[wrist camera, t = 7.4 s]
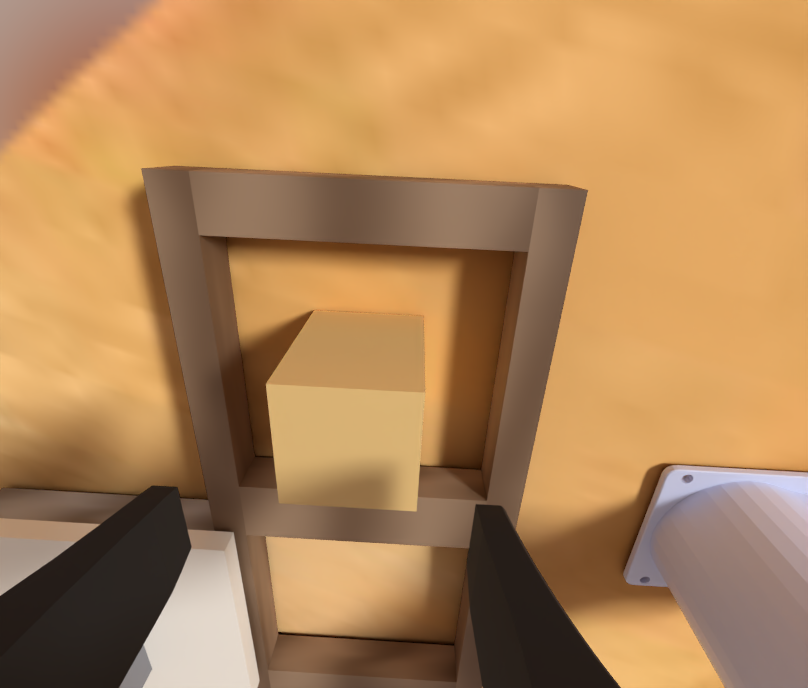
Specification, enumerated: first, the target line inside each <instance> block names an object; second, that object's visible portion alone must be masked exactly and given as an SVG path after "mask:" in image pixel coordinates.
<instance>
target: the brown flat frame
mask: <svg viewBox="0 0 808 688" xmlns="http://www.w3.org/2000/svg"><path fill="white" fill-rule="evenodd" d="M141 169H142V174H143V179H144V184H145V189H146V194H147V199H148V204H149V209H150V214H151V219H152V224H153V229H154V234H155V239H156V244H157V249H158V254H159V259H160V263H161V268H162V273H163V278H164V283H165V288H166V293H167V298H168V303H169V308H170V313H171V318H172V323H173V328H174V333H175V338H176V343H177V348H178V353H179V358H180V363H181V367H182V372H183V377H184V382H185V387H186V392H187V397H188V402H189V407H190V412H191V417H192V422H193V427H194V432H195V437H196V442H197V447H198V452H199V457H200V462H201V466H202V471H203V476H204V481H205V486H206V491H207V496H208V500H202V499H185V498H180V500H181V504H182V509H183V513H184V517H185V521H186V525H187V529H189V530H206V531H222V532H234V538H235V543H236V549H237V555H238V560H239V566H240V572H241V578H242V583H243V589H244V595H245V600H246V606H247V612H248V617H249V623H250V629H251V634H252V640H253V646H254V651H255V657H256V663H257V668H258V674H259V680H260V681H259V684H258V688H482V681H481V675H480V669H479V663H478V657H477V651H476V645H475V638H474V632H473V626H472V620H471V614H470V605H469V592H468V576H467V565H466V572H465V578H464V585H463V591H462V598H461V604H460V611H459V617H458V624H457V630H456V637H455V644H454V646H453V645H437V644H421V643H405V642H389V641H374V640H358V639H342V638H326V637H310V636H294V635H278V629H277V621H276V614H275V606H274V598H273V591H272V583H271V576H270V568H269V561H268V553H267V546H266V538H265V536H270V537H287V538H303V539H320V540H337V541H353V542H370V543H387V544H403V545H420V546H437V547H453V548H469V545H470V538H471V531H472V525H473V518H474V512H475V505H476V504H484V505H501V506H502V507H503V508H504V509H505V510H506V512H507V515H508V517H509V518H510V520H511V522H512V524H513V526H514V528H515V530H516V525H517V520H518V516H519V511H520V506H521V502H522V497H523V492H524V487H525V483H526V478H527V473H528V469H529V464H530V459H531V455H532V450H533V445H534V441H535V436H536V431H537V426H538V422H539V417H540V412H541V408H542V403H543V398H544V394H545V389H546V384H547V380H548V375H549V370H550V365H551V361H552V356H553V351H554V347H555V342H556V337H557V333H558V328H559V323H560V319H561V314H562V309H563V304H564V300H565V295H566V290H567V286H568V281H569V276H570V272H571V267H572V262H573V257H574V253H575V248H576V243H577V239H578V234H579V229H580V225H581V220H582V215H583V211H584V206H585V201H586V196H587V192H588V190H585V189H581V188H578V187H574V186H570V185H558V184H538V183H517V182H496V181H476V180H455V179H434V178H413V177H393V176H372V175H351V174H331V173H310V172H289V171H269V170H248V169H227V168H207V167H186V166H168V167H155V168H141ZM226 237H243V238H262V239H282V240H302V241H322V242H342V243H361V244H381V245H401V246H421V247H441V248H460V249H480V250H500V251H515V252H514V258H513V265H512V271H511V278H510V284H509V291H508V297H507V304H506V310H505V317H504V323H503V330H502V336H501V343H500V350H499V356H498V363H497V369H496V376H495V382H494V389H493V395H492V402H491V408H490V415H489V421H488V428H487V434H486V441H485V448H484V454H483V461H482V467H481V470H475V469H458V468H440V467H423V466H420V471H419V485H418V498H417V512H416V511H399V510H382V509H365V508H348V507H331V506H314V505H297V504H280V503H279V500H278V491H277V482H276V473H275V464H274V458H266V457H255V456H254V448H253V440H252V433H251V425H250V418H249V410H248V403H247V395H246V388H245V380H244V373H243V365H242V358H241V350H240V343H239V335H238V328H237V320H236V313H235V305H234V298H233V290H232V282H231V275H230V267H229V260H228V252H227V245H226ZM136 497H137V496H134V495H117V494H100V493H83V492H66V491H49V490H32V489H15V488H2V489H1V490H0V518H5V519H22V520H39V521H56V522H72V523H89V524H101V523H103V522H104V521H105V520H107V519H108V518H109V517H111V516H112V515H113V514H115V513H116V512H117V511H119V510H120V509H121V508H123V507H124V506H125V505H127V504H128V503H129V502H131V501H132V500H133V499H135V498H136Z"/></svg>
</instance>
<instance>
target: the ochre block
mask: <svg viewBox="0 0 808 688" xmlns="http://www.w3.org/2000/svg"><path fill="white" fill-rule="evenodd" d="M266 391H267V400H268V409H269V418H270V427H271V436H272V445H273V454H274V464H275V473H276V482H277V491H278V500H279V503H280V504H297V505H314V506H331V507H348V508H365V509H382V510H399V511H416V512H417V498H418V485H419V471H420V458H421V444H422V431H423V417H424V403H425V351H424V316H418V315H399V314H380V313H361V312H341V311H322V310H314V311H313V313H312V314H311V316H310V317H309V319H308V320H307V322H306V323H305V325H304V326H303V328H302V329H301V331H300V333H299V334H298V336H297V337H296V339H295V340H294V342H293V343H292V345H291V346H290V348H289V349H288V351H287V352H286V354H285V355H284V357H283V358H282V360H281V362H280V363H279V365H278V366H277V368H276V369H275V371H274V372H273V374H272V375H271V377H270V378H269V380H268V381H267V383H266Z"/></svg>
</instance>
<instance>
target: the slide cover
mask: <svg viewBox="0 0 808 688" xmlns="http://www.w3.org/2000/svg"><path fill="white" fill-rule="evenodd" d="M99 525H100V524H89V523H72V522H56V521H39V520H22V519H5V518H0V596H1V595H2V594H3V593H5V592H6V591H8V590H9V589H11V588H12V587H14V586H15V585H16V584H18V583H19V582H21V581H22V580H24V579H25V578H27V577H28V576H29V575H31V574H32V573H34V572H35V571H37V570H38V569H40V568H41V567H42V566H44V565H45V564H47V563H48V562H50V561H51V560H52V559H54V558H55V557H57V556H58V555H59V554H61V553H62V552H63V551H65V550H66V549H68V548H69V547H70V546H72V545H73V544H74V543H76V542H77V541H78V540H80V539H81V538H82V537H84V536H85V535H87V534H88V533H89V532H91V531H92V530H93V529H95V528H96V527H97V526H99ZM188 534H189V538H190V542H191V546H192V548H191V550H190V552H189V555H188V557H187V560H186V562H185V565H184V567H183V570H182V572H181V574H180V577H179V579H178V581H177V583H176V586H175V588H174V590H173V592H172V594H171V596H170V598H169V600H168V602H167V603H166V605H165V607H164V609H163V611H162V612H161V614H160V616H159V618H158V620H157V621H156V623H155V625H154V627H153V629H152V630H151V632H150V634H149V636H148V637H147V639H146V641H145V643H144V645H143V646H142V648H141V650H140V652H139V653H138V655H137V657H136V659H135V661H134V662H133V664H132V666H131V668H130V669H129V671H128V673H127V675H126V676H125V678H124V680H123V682H122V684H121V685H120V687H119V688H258V684H259V681H260V680H259V674H258V668H257V663H256V657H255V651H254V646H253V640H252V634H251V629H250V623H249V617H248V612H247V606H246V600H245V595H244V589H243V583H242V578H241V572H240V566H239V560H238V555H237V549H236V543H235V538H234V532H222V531H206V530H189V529H188Z"/></svg>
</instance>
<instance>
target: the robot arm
mask: <svg viewBox="0 0 808 688" xmlns="http://www.w3.org/2000/svg"><path fill="white" fill-rule="evenodd" d="M685 475H687V476H685ZM683 476H685V477H683ZM191 548H192V546H191V542H190V538H189V534H188V529H187V525H186V521H185V517H184V513H183V509H182V504H181V500H180V496H179V492H178V488H177V487H167V486H151V487H150V488H148V489H147V490H146V491H144V492H143V493H141V494H140V495H139V496H137V497H136V498H135V499H133V500H132V501H131V502H129V503H128V504H127V505H125V506H124V507H123V508H121V509H120V510H119V511H117V512H116V513H115V514H113V515H112V516H111V517H109V518H108V519H107V520H105V521H104V522H103V523H101V524H100V525H99V526H97V527H96V528H95V529H93V530H92V531H91V532H89V533H88V534H87V535H85V536H84V537H82V538H81V539H80V540H78V541H77V542H76V543H74V544H73V545H72V546H70V547H69V548H68V549H66V550H65V551H63V552H62V553H61V554H59V555H58V556H57V557H55V558H54V559H52V560H51V561H50V562H48V563H47V564H45V565H44V566H42V567H41V568H40V569H38V570H37V571H35V572H34V573H32V574H31V575H29V576H28V577H27V578H25V579H24V580H22V581H21V582H19V583H18V584H16V585H15V586H14V587H12V588H11V589H9V590H8V591H6V592H5V593H3V594H2V595H1V596H0V688H119V687H120V685H121V684H122V682H123V680H124V678H125V676H126V675H127V673H128V671H129V669H130V668H131V666H132V664H133V662H134V661H135V659H136V657H137V655H138V653H139V652H140V650H141V648H142V646H143V645H144V643H145V641H146V639H147V637H148V636H149V634H150V632H151V630H152V629H153V627H154V625H155V623H156V621H157V620H158V618H159V616H160V614H161V612H162V611H163V609H164V607H165V605H166V603H167V602H168V600H169V598H170V596H171V594H172V592H173V590H174V588H175V586H176V583H177V581H178V579H179V577H180V574H181V572H182V570H183V567H184V565H185V562H186V560H187V557H188V555H189V552H190V550H191ZM467 576H468V592H469V605H470V614H471V620H472V626H473V632H474V638H475V645H476V651H477V657H478V663H479V669H480V675H481V681H482V687H483V688H621V687H620V686H619V685H618V684H617V682H616V681H615V680H614V678H613V677H612V676H611V675H610V673H609V672H608V671H607V669H606V668H605V667H604V666H603V664H602V663H601V662H600V660H599V659H598V658H597V656H596V655H595V654H594V652H593V651H592V649H591V648H590V647H589V645H588V644H587V643H586V641H585V640H584V638H583V637H582V635H581V634H580V633H579V631H578V630H577V628H576V627H575V625H574V624H573V623H572V621H571V620H570V618H569V617H568V615H567V614H566V612H565V611H564V609H563V608H562V606H561V605H560V603H559V602H558V600H557V599H556V597H555V596H554V594H553V592H552V591H551V589H550V588H549V586H548V585H547V583H546V581H545V580H544V578H543V577H542V575H541V573H540V572H539V570H538V569H537V567H536V565H535V564H534V562H533V560H532V558H531V557H530V555H529V553H528V551H527V550H526V548H525V546H524V545H523V543H522V541H521V539H520V537H519V536H518V534H517V532H516V530H515V528H514V526H513V524H512V522H511V520H510V518H509V517H508V515H507V512H506V510H505V509H504V508H503V507H502V506H501V505H484V504H476V505H475V512H474V518H473V525H472V531H471V538H470V545H469V551H468V558H467ZM623 576H624V578H625V580H626V582H627V583H629V584H631V585H643V586H659V587H668V588H669V589H670V591H671V593H672V595H673V596H674V598H675V600H676V602H677V604H678V605H679V607H680V609H681V611H682V612H683V614H684V616H685V618H686V620H687V621H688V623H689V625H690V627H691V628H692V630H693V632H694V634H695V635H696V637H697V639H698V641H699V643H700V644H701V646H702V648H703V650H704V651H705V653H706V655H707V657H708V659H709V660H710V662H711V664H712V666H713V667H714V669H715V671H716V673H717V675H718V676H719V678H720V680H721V682H722V683H723V685H724V687H725V688H808V472H790V471H773V470H755V469H738V468H720V467H702V466H685V465H671V466H668V467H667V468H665V469H664V470H663V472H662V474H661V476H660V479H659V482H658V484H657V487H656V489H655V492H654V495H653V497H652V500H651V502H650V505H649V508H648V510H647V513H646V515H645V518H644V521H643V523H642V526H641V528H640V531H639V534H638V536H637V539H636V541H635V544H634V547H633V549H632V552H631V554H630V557H629V560H628V562H627V565H626V567H625V570H624V573H623Z"/></svg>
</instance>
